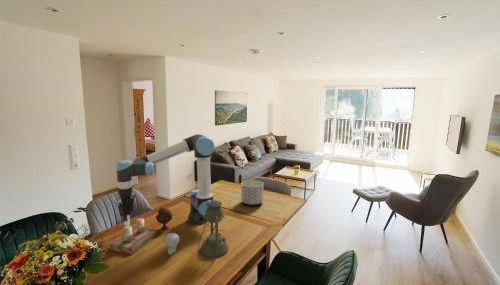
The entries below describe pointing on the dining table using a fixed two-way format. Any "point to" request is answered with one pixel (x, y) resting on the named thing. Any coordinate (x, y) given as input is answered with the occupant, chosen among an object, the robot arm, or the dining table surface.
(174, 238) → the grey light bulb
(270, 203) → the dining table surface
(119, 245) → the wooden candle holder
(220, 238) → the lantern
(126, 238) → the peg
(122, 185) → the robot arm
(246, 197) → the planter
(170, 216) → the ice cream bowl
